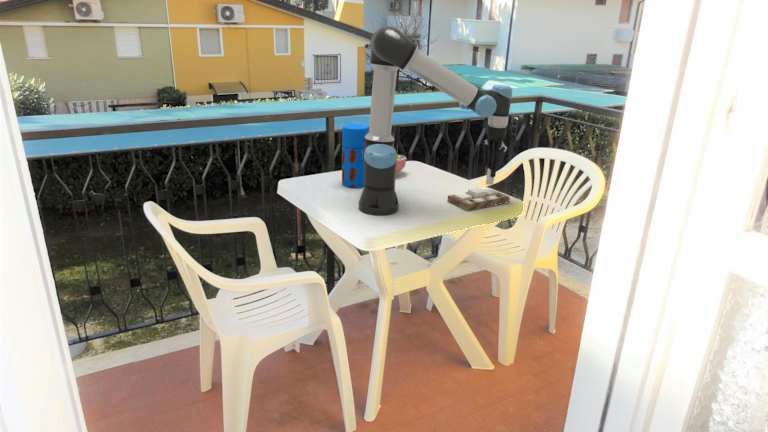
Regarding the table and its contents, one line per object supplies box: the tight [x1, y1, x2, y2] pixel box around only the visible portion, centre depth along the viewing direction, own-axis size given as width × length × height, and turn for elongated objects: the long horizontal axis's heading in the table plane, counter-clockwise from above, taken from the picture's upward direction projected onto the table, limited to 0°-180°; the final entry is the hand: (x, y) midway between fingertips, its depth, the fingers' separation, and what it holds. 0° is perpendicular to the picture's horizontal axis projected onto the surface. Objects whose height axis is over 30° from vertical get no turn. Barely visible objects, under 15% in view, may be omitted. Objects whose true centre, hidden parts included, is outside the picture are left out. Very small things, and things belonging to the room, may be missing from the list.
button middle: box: [467, 187, 486, 198], centre depth 211 cm, size 5×5×2 cm
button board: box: [446, 191, 511, 212], centre depth 211 cm, size 22×12×3 cm, turn 122°
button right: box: [482, 187, 500, 196], centre depth 215 cm, size 5×5×2 cm
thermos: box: [341, 123, 369, 189], centre depth 222 cm, size 11×11×25 cm
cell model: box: [396, 153, 407, 174], centre depth 241 cm, size 17×20×11 cm
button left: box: [453, 192, 472, 201], centre depth 208 cm, size 5×5×2 cm
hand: (489, 183), depth 214 cm, fingers closed
